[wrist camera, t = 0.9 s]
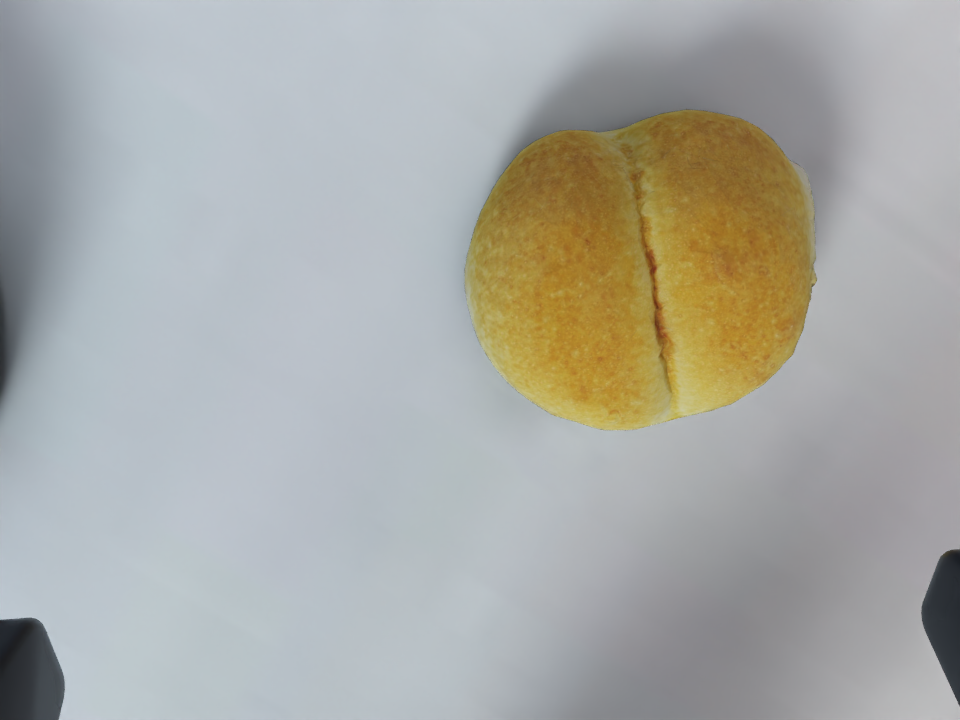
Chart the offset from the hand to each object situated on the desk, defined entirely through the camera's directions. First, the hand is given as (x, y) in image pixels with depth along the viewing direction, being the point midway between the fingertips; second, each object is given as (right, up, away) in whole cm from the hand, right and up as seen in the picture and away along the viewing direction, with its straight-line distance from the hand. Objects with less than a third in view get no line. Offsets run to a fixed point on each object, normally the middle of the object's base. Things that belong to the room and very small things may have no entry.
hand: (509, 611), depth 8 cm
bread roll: (+4, +5, +14) cm, 16 cm away
